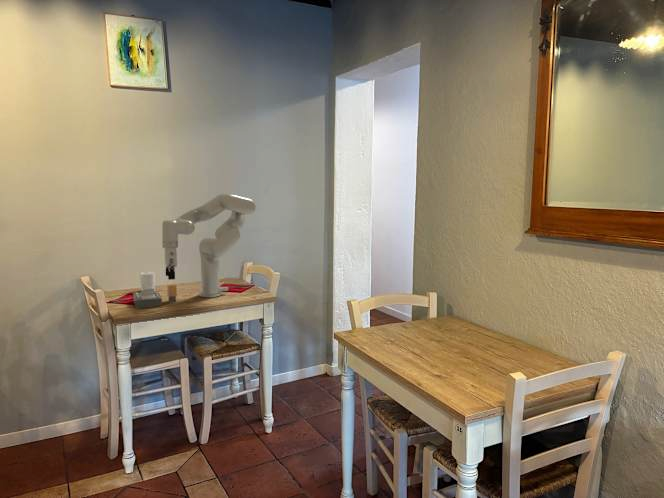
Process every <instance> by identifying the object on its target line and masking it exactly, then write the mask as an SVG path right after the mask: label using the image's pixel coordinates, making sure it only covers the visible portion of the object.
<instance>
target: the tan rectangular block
mask: <svg viewBox="0 0 664 498" xmlns="http://www.w3.org/2000/svg"><path fill="white" fill-rule="evenodd" d="M166 287H167V289H166V290H167V291H166V293H167V294H166V295H167V297H168V302H169V303H176V302H177V298H176V297H177V296H178V295H177V293H178V291H177V284H176V282H174V283H173V282H171V283H170V282H169V283H166Z"/></svg>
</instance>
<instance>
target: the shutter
mask: <svg viewBox="0 0 664 498" xmlns="http://www.w3.org/2000/svg"><path fill="white" fill-rule="evenodd" d="M154 291H155V290H154V288H152V289H142V288H141V290H140V293H141V299H142V300H147V299H156V296H155V294H154Z"/></svg>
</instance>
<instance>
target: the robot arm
mask: <svg viewBox="0 0 664 498" xmlns="http://www.w3.org/2000/svg"><path fill="white" fill-rule="evenodd" d="M256 208H257V205H256V203H255V202H254V201H253V199H250V198H247V197H243V196H238V195H235V194H230V193H221V194H220V193H219V194H218V195H216V196H215V197H213V198H212V199H210V200H208V201H207V202H205V203H203V204H202V205H200V206H198V207H196V208H194V209H191V210H189V211H186V212H184V213H183V214H181V215H180V216H179V217H177V218H176V219H174V220H173V219H165V220H163V221H162V223H161V225H162V227H161V228H162V231H161V234H162V236H161V237H162V243H161V244H162V249H163V248H164V265H165V276H166V277H167V280H169V281H170V280H176V270H175V268H177V267H178V255H177V254H178V253H177V249H178V248H179V235H186V236H187V235H188V236H189V235H191V234H193V233H194V232H195V227H196V225H195V224H197V223H202V222H205V221H206V222H207V221H209V220H210V221H211V219H214V218H215V217H216V216H218V215H220V214H221V213H223V211H224V212H225V211H226V210H227V211H231V213H230V216H229V218H227V220H225V221H224V222H223V223H222V224H221V225H220V226H219V227H218V228H217V229H216V230H215V231H214V232H215V233H214V237H215V238H214V237H204V238H203V239H201V240H200V242H199V246H198V250H199V255H200V274H201V275H200V278H201V280H200V285H201V286H200V287H201V290H200V291H199V292H198V296H199V297H201V298H202V297H203V298H216V297H217V296H218V297H221V296H222V295H223V292H224V291H225V292H226V291H227V292H228V291H229V287H228V286H221V285H220V260H219V258H222V257H223V256H225V255H226V254H227V253H228V252H229V251H230V250H231V249H232V248H234V247H235V246H236V245H237V244H238V242H239V241H240V238H241V231H240V229H241V228H242V227H243V226H244V224H245V218H246V215H251V214H253V213H254V212H255V211H256ZM220 295H221V296H220ZM218 297H217V298H218Z"/></svg>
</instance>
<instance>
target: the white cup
mask: <svg viewBox="0 0 664 498" xmlns="http://www.w3.org/2000/svg"><path fill="white" fill-rule="evenodd" d="M139 276H140V277H139V278H140V287H141V289H152V288H154V291H156V290H155V289H156V288H155V287H156V272H155V271H143V272H141V273H139Z"/></svg>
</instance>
